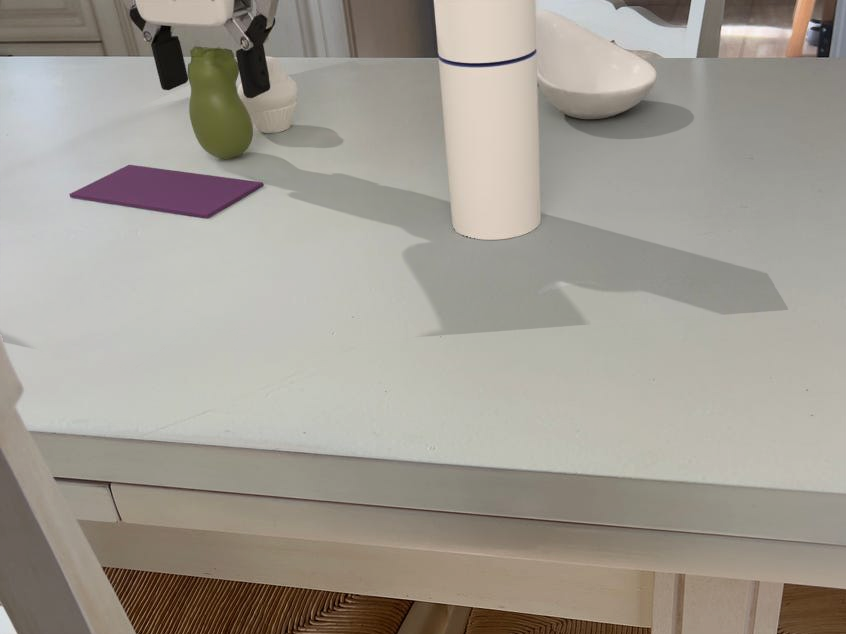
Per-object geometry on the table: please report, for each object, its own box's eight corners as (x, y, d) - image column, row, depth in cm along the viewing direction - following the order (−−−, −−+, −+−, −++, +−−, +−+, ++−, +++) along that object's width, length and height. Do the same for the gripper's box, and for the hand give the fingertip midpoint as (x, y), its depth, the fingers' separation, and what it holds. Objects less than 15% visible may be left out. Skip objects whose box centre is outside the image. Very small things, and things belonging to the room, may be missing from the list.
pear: (190, 163, 98) (162, 50, 91) (223, 145, 101) (199, 35, 95) (236, 168, 96) (212, 53, 89) (269, 150, 99) (247, 38, 93)
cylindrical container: (452, 242, 79) (420, -146, 63) (451, 208, 84) (421, -157, 68) (544, 236, 79) (535, -155, 63) (537, 202, 84) (527, -166, 68)
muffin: (289, 115, 108) (277, 43, 103) (314, 128, 103) (302, 54, 99) (235, 128, 105) (219, 55, 101) (257, 142, 101) (243, 67, 97)
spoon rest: (678, 113, 100) (683, 33, 95) (577, 138, 96) (577, 56, 91) (552, 64, 116) (551, -6, 112) (461, 84, 112) (456, 12, 108)
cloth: (69, 197, 92) (68, 194, 92) (129, 167, 98) (129, 164, 98) (207, 218, 86) (206, 215, 86) (263, 185, 92) (263, 182, 91)
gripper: (58, -124, 84) (118, 94, 95) (223, -125, 78) (267, 109, 89) (121, -136, 89) (170, 72, 100) (280, -139, 83) (315, 85, 94)
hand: (216, 89), depth 94 cm, fingers open, 9 cm apart
